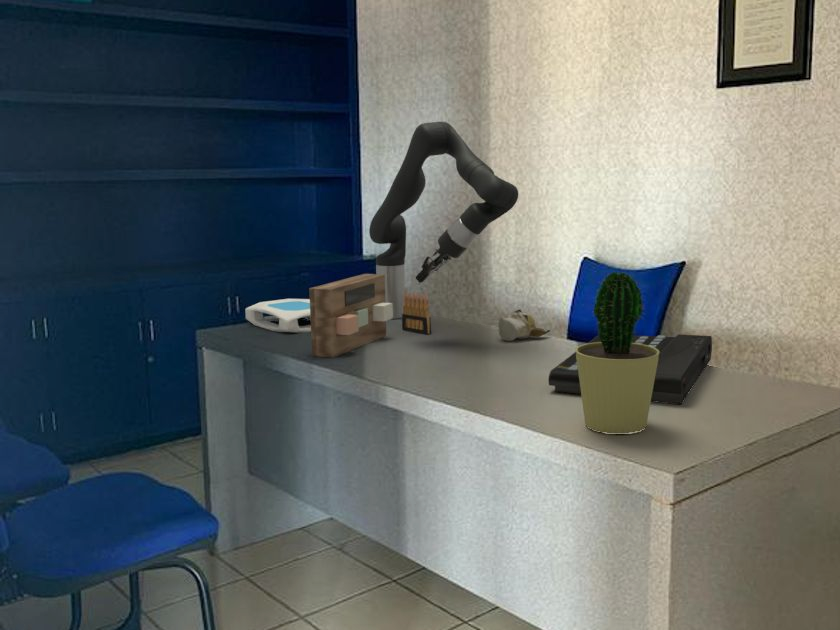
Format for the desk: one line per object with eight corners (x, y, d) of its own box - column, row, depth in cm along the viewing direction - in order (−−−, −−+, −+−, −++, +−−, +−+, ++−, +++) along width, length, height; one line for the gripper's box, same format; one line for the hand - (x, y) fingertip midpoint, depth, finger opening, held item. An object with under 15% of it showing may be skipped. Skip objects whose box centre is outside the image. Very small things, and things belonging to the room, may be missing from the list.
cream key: (367, 320, 245) (366, 305, 244) (376, 317, 249) (375, 302, 249) (384, 321, 242) (383, 306, 241) (392, 318, 247) (392, 303, 246)
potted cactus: (557, 427, 163) (558, 270, 158) (603, 409, 174) (606, 262, 169) (628, 444, 153) (632, 277, 147) (672, 425, 163) (677, 267, 158)
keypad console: (312, 355, 228) (309, 288, 224) (366, 334, 254) (364, 273, 251) (334, 357, 225) (331, 289, 222) (387, 335, 251) (385, 274, 248)
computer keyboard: (600, 352, 227) (601, 327, 226) (711, 360, 215) (712, 334, 214) (548, 395, 187) (548, 365, 186) (680, 409, 175) (681, 377, 174)
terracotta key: (330, 333, 227) (329, 317, 226) (340, 329, 232) (340, 313, 231) (348, 335, 224) (347, 318, 224) (358, 331, 229) (358, 315, 228)
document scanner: (287, 336, 256) (286, 315, 255) (244, 323, 278) (243, 303, 276) (347, 326, 268) (346, 306, 267) (301, 314, 290) (300, 296, 289)
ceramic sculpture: (488, 308, 242) (526, 305, 251) (486, 338, 244) (525, 334, 252) (514, 313, 234) (553, 310, 243) (512, 345, 235) (551, 340, 244)
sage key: (341, 326, 237) (340, 310, 236) (351, 322, 242) (350, 307, 241) (358, 327, 234) (358, 311, 234) (368, 323, 239) (367, 308, 238)
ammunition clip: (431, 334, 253) (430, 293, 251) (427, 335, 252) (426, 294, 249) (406, 329, 260) (405, 290, 258) (401, 330, 259) (400, 291, 257)
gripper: (459, 224, 237) (420, 267, 245) (439, 228, 226) (399, 273, 233) (477, 244, 236) (437, 286, 244) (458, 249, 224) (417, 293, 232)
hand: (418, 280), depth 238 cm, fingers closed
